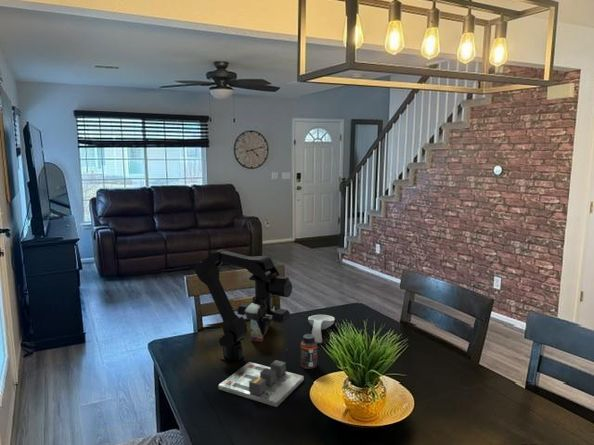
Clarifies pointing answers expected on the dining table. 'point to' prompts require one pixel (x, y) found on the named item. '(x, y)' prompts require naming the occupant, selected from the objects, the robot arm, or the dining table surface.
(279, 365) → the block
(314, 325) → the spoon rest
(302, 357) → the supplement bottle
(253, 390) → the grey cube
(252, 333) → the snack box
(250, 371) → the panel
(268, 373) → the block
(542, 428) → the dining table surface
